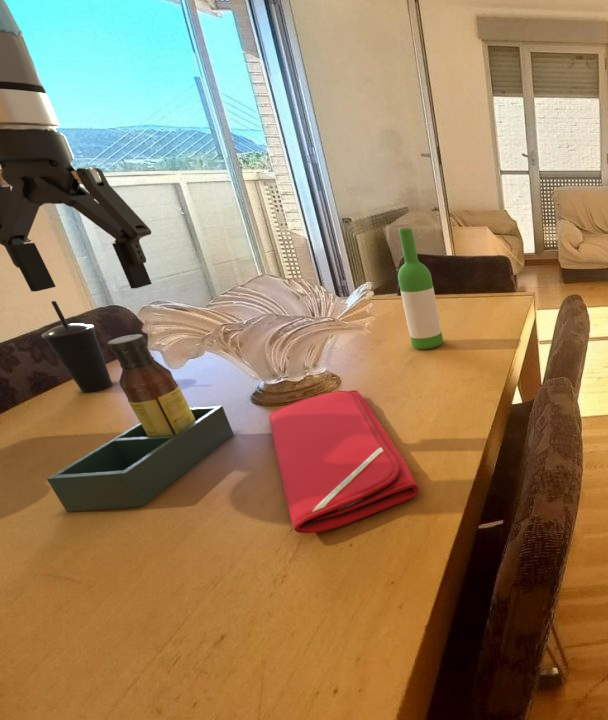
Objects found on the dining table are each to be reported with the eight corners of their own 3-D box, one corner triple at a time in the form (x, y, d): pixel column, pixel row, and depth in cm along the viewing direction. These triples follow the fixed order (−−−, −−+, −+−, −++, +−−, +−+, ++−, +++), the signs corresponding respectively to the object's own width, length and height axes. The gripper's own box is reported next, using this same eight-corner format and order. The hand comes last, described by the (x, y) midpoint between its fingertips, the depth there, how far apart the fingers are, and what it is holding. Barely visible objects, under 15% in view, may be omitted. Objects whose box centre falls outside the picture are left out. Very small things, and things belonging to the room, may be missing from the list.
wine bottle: (442, 338, 130) (421, 225, 118) (444, 347, 123) (423, 229, 111) (412, 343, 127) (387, 228, 115) (413, 352, 120) (387, 232, 109)
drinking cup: (102, 379, 110) (60, 296, 102) (130, 380, 109) (90, 296, 101) (62, 394, 103) (14, 306, 95) (92, 396, 102) (45, 306, 94)
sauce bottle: (202, 432, 85) (157, 327, 77) (206, 445, 80) (159, 336, 73) (153, 447, 80) (100, 338, 73) (155, 462, 76) (98, 348, 68)
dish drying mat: (361, 396, 98) (357, 380, 97) (423, 495, 68) (418, 473, 67) (270, 422, 89) (264, 404, 88) (296, 548, 60) (287, 524, 58)
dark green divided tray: (66, 512, 67) (45, 478, 65) (174, 437, 85) (161, 409, 83) (142, 506, 68) (125, 473, 66) (233, 433, 86) (222, 405, 83)
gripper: (145, 129, 66) (200, 279, 75) (-49, 131, 65) (29, 284, 73) (95, 126, 59) (161, 291, 68) (-124, 128, 58) (-28, 297, 66)
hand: (93, 287), depth 70 cm, fingers open, 13 cm apart
